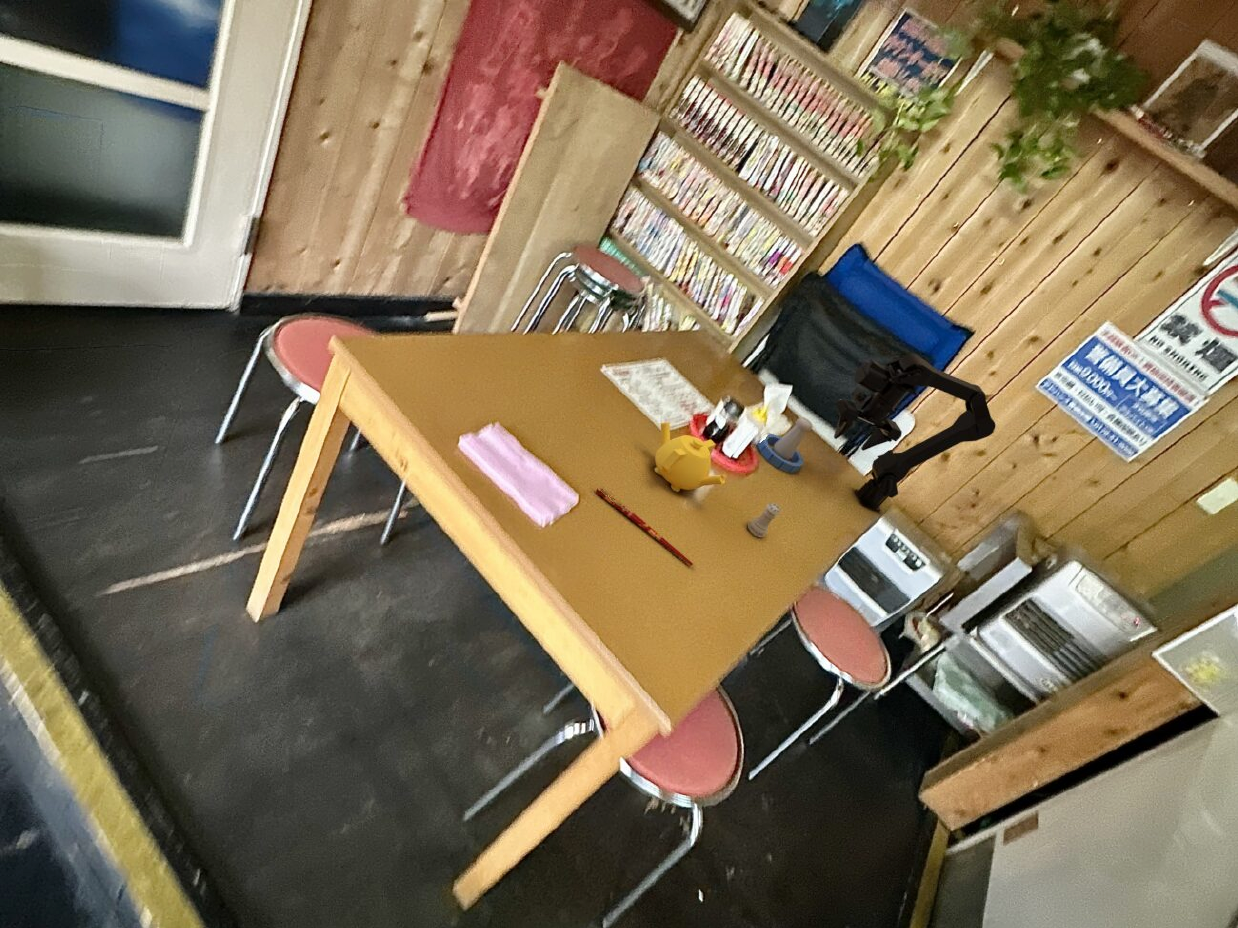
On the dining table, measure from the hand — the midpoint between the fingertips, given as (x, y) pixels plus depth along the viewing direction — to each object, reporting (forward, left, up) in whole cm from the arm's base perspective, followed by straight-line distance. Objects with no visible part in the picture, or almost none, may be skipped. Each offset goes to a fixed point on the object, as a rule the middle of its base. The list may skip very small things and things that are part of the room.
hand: (848, 443), depth 198 cm
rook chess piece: (+30, +34, -13) cm, 47 cm away
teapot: (+50, +25, -13) cm, 57 cm away
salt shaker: (+13, -3, -13) cm, 19 cm away
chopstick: (+60, +46, -13) cm, 77 cm away
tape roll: (+13, -3, -13) cm, 19 cm away
